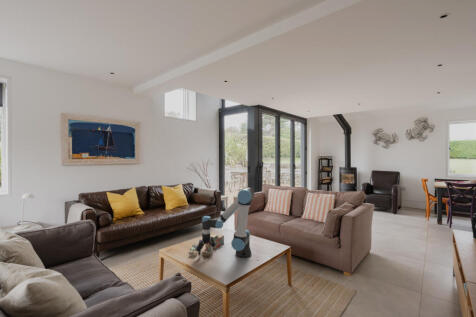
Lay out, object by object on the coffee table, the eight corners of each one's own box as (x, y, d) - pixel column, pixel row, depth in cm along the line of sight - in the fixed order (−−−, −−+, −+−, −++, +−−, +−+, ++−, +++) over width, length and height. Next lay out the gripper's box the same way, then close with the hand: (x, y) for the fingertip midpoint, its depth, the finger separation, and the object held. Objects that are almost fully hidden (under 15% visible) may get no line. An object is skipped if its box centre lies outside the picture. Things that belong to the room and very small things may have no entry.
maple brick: (197, 255, 216) (197, 251, 216) (195, 257, 213) (195, 252, 213) (191, 254, 218) (191, 250, 218) (189, 256, 215) (189, 251, 215)
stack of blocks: (219, 242, 247) (219, 231, 247) (224, 244, 243) (224, 232, 243) (205, 249, 230) (205, 237, 230) (209, 251, 226) (209, 238, 226)
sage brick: (195, 253, 222) (195, 248, 222) (192, 253, 220) (192, 249, 220) (193, 250, 227) (193, 246, 227) (190, 251, 225) (190, 247, 225)
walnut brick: (209, 256, 214) (209, 252, 214) (206, 257, 212) (206, 253, 211) (205, 254, 218) (205, 250, 218) (202, 255, 216) (202, 251, 216)
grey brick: (199, 249, 230) (199, 245, 230) (196, 250, 227) (196, 246, 227) (194, 248, 234) (194, 244, 234) (192, 249, 231) (192, 245, 231)
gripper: (214, 229, 226) (214, 250, 226) (192, 235, 208) (192, 258, 209) (219, 231, 221) (218, 253, 221) (197, 237, 203) (197, 261, 203)
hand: (206, 255), depth 215 cm, fingers open, 13 cm apart
